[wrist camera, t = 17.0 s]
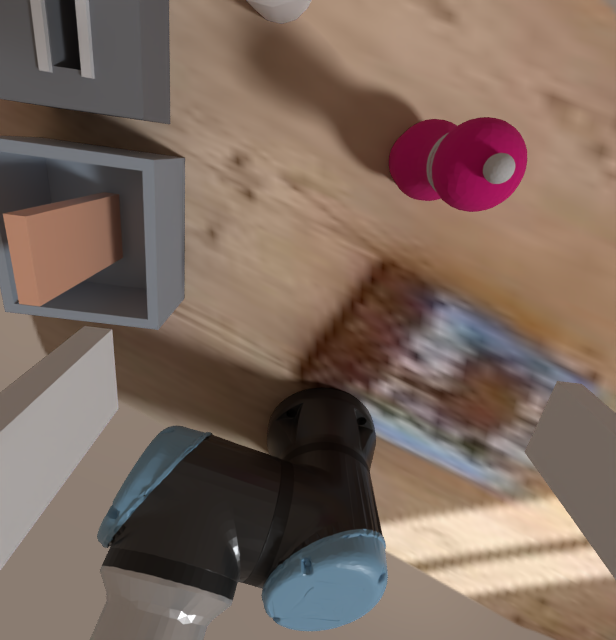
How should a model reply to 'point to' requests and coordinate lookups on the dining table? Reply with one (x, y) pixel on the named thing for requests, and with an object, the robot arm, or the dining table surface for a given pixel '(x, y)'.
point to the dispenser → (87, 56)
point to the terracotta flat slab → (62, 244)
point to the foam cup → (280, 9)
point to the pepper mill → (459, 162)
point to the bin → (136, 226)
